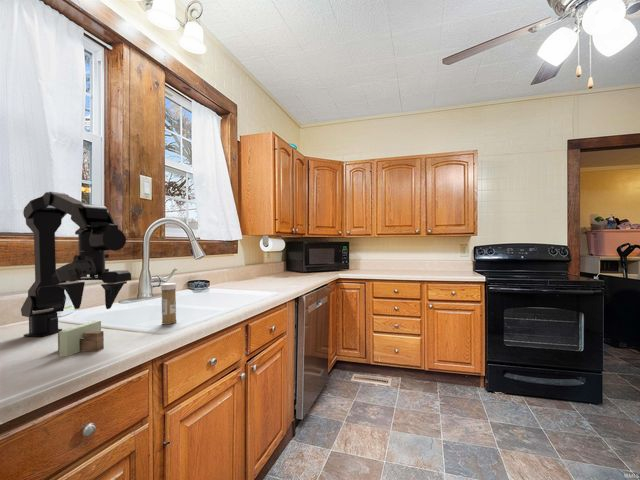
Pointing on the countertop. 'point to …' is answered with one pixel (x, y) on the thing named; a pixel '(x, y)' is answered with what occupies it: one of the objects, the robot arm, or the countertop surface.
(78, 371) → the countertop surface
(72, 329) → the green board
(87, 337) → the walnut rail
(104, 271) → the robot arm
